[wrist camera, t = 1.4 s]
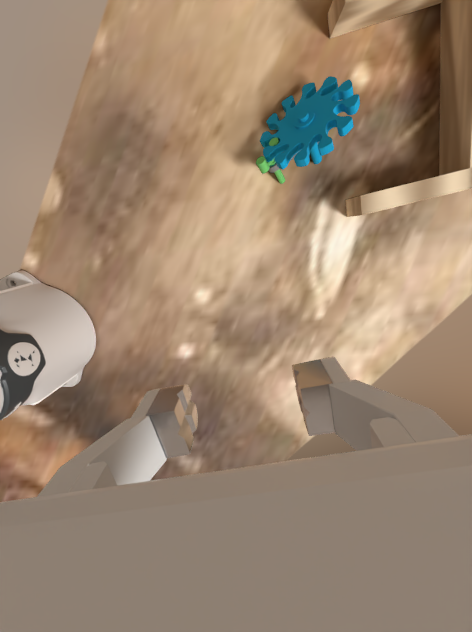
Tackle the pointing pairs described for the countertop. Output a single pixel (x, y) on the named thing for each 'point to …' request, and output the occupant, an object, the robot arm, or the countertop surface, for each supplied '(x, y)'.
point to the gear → (307, 126)
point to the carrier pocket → (455, 96)
